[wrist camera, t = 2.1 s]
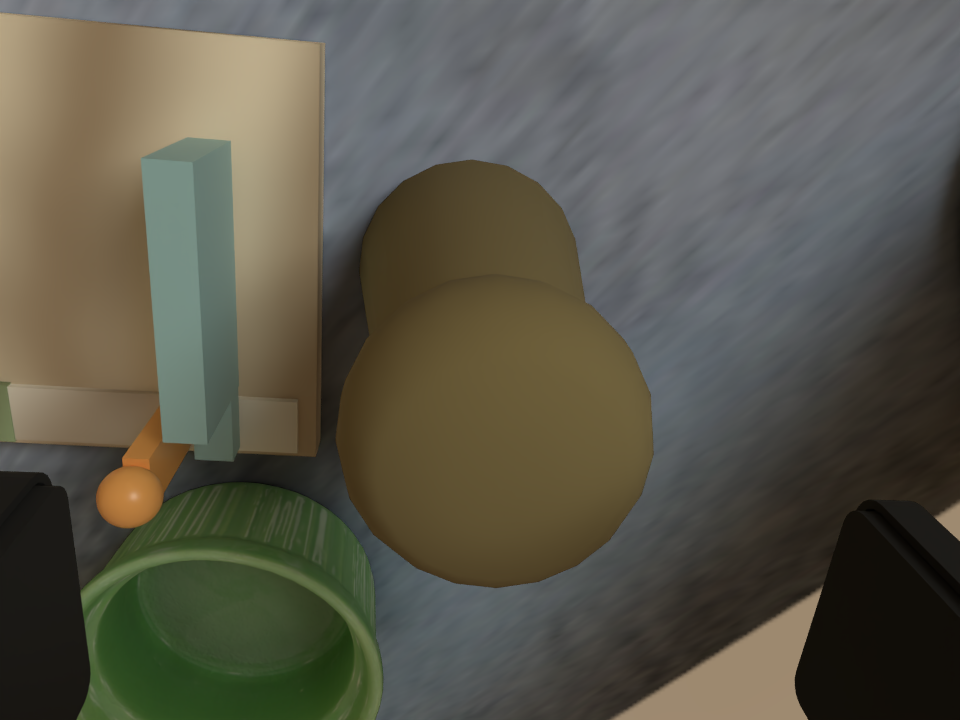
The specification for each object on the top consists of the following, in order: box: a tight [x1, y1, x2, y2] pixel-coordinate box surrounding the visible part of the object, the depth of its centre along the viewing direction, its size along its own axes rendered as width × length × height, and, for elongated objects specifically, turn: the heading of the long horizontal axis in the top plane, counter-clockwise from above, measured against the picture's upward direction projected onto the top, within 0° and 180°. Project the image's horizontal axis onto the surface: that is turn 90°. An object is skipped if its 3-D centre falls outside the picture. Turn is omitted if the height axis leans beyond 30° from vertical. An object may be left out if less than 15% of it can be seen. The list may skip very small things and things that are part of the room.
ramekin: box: [77, 482, 383, 720], centre depth 23 cm, size 9×9×4 cm
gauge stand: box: [0, 13, 325, 457], centre depth 18 cm, size 12×11×6 cm
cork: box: [335, 160, 654, 588], centre depth 16 cm, size 6×6×11 cm
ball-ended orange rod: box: [96, 406, 192, 528], centre depth 19 cm, size 1×1×4 cm
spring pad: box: [141, 137, 240, 461], centre depth 18 cm, size 1×8×3 cm, turn 175°
